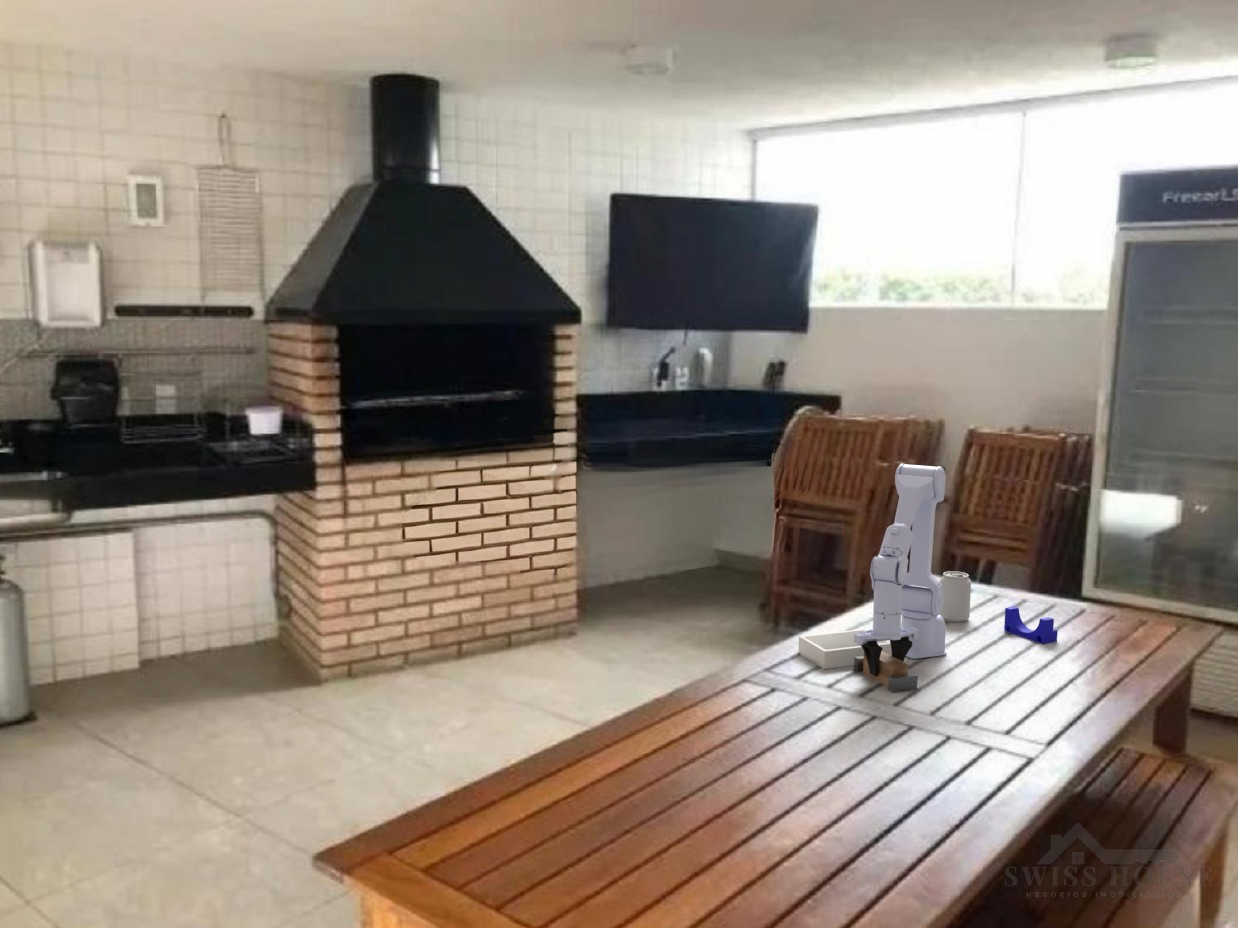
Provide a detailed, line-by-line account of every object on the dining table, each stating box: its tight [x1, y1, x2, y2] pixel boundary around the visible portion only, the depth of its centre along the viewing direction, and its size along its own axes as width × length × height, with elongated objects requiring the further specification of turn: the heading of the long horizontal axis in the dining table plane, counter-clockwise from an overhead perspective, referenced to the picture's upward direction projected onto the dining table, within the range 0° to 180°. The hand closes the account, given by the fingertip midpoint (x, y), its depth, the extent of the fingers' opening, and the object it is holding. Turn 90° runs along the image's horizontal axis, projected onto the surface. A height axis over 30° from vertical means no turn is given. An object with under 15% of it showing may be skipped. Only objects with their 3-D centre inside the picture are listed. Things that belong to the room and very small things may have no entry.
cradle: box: [853, 656, 919, 694], centre depth 223 cm, size 6×15×3 cm, turn 19°
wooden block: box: [862, 651, 909, 688], centre depth 223 cm, size 4×10×5 cm, turn 22°
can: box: [939, 570, 972, 623], centre depth 267 cm, size 8×8×12 cm
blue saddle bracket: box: [1003, 606, 1059, 645], centre depth 253 cm, size 12×4×6 cm, turn 27°
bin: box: [798, 628, 892, 670], centre depth 238 cm, size 18×12×4 cm, turn 109°
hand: (885, 673), depth 223 cm, fingers open, 5 cm apart
